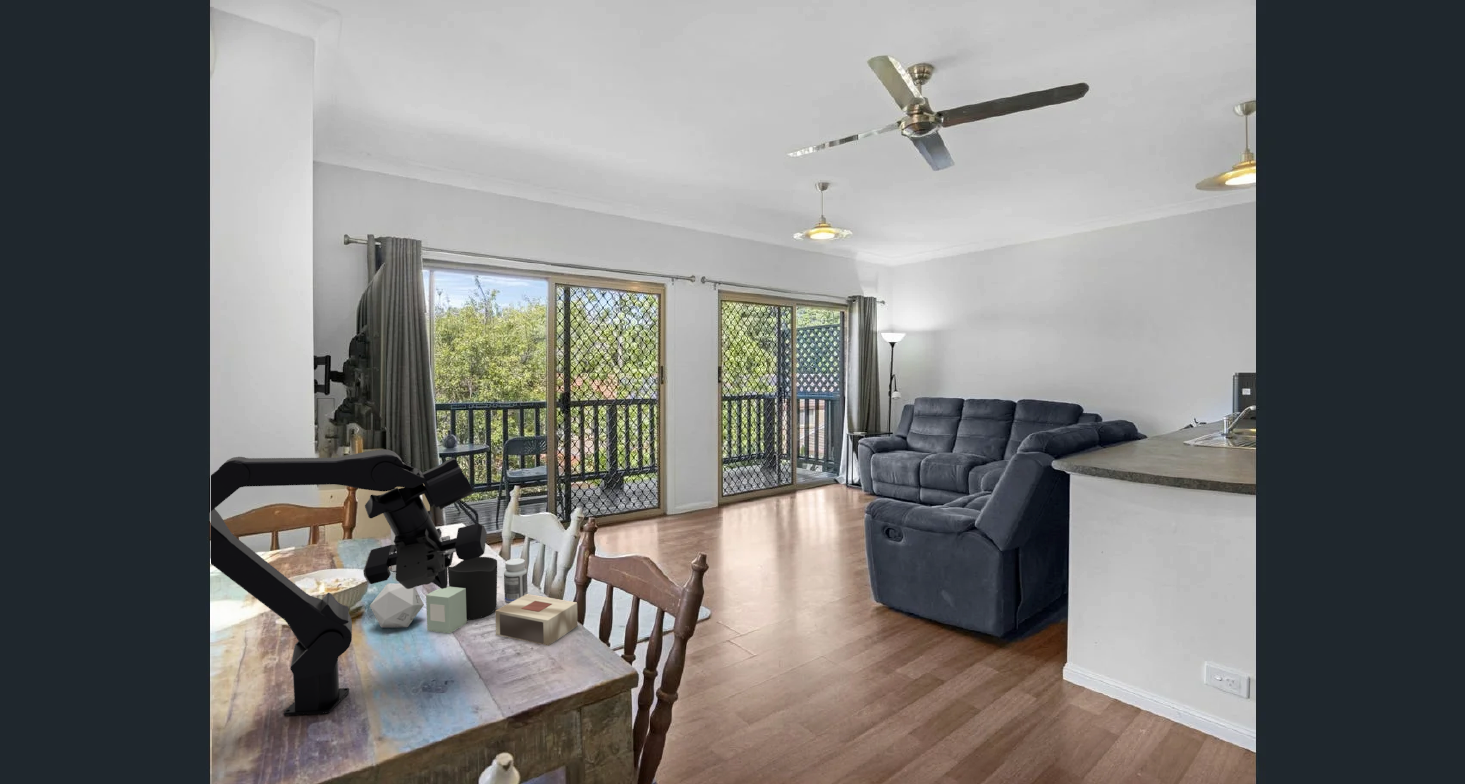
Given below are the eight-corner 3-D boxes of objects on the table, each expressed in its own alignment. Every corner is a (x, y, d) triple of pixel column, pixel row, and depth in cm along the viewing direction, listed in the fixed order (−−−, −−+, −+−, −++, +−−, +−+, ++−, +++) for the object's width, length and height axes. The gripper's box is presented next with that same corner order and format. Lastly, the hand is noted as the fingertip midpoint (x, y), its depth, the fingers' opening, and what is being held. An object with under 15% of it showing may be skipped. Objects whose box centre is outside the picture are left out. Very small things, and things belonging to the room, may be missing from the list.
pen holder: (503, 614, 133) (501, 566, 132) (453, 625, 128) (451, 575, 127) (493, 599, 141) (491, 554, 140) (445, 608, 136) (444, 561, 135)
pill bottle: (519, 593, 145) (518, 556, 144) (532, 598, 142) (531, 560, 141) (500, 600, 141) (499, 561, 140) (512, 605, 138) (511, 566, 137)
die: (388, 641, 123) (421, 595, 125) (352, 616, 124) (386, 570, 126) (408, 638, 130) (439, 595, 133) (374, 614, 132) (405, 572, 134)
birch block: (547, 619, 119) (577, 602, 127) (495, 610, 123) (527, 593, 132) (548, 647, 119) (577, 627, 128) (495, 636, 124) (527, 618, 132)
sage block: (449, 633, 124) (448, 597, 124) (426, 630, 126) (425, 595, 125) (466, 622, 129) (465, 588, 129) (445, 620, 130) (444, 585, 130)
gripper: (335, 572, 98) (379, 638, 106) (463, 540, 100) (495, 608, 108) (354, 522, 107) (393, 587, 115) (471, 494, 109) (500, 559, 118)
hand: (444, 586), depth 114 cm, fingers closed
